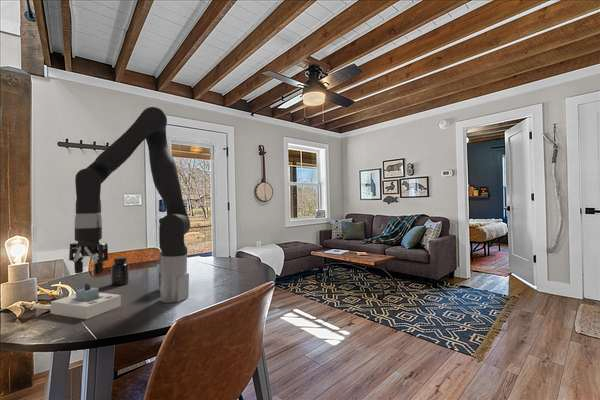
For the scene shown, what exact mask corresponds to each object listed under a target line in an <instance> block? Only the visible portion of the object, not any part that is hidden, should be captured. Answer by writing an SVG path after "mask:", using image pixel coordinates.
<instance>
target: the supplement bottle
mask: <svg viewBox="0 0 600 400" xmlns="http://www.w3.org/2000/svg"><path fill="white" fill-rule="evenodd" d="M113 259H114V261H113V263H114V264H112V265H111V268H110V269H111V270H110V272H111V273H110V285H111V286H114V287H117V286H118V287H119V286H125V285H127V284H129V280H130V279H129V278H130V274H129V273H130V265H129V263H127V257H126V256H123V257H116V258H113Z"/></svg>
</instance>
